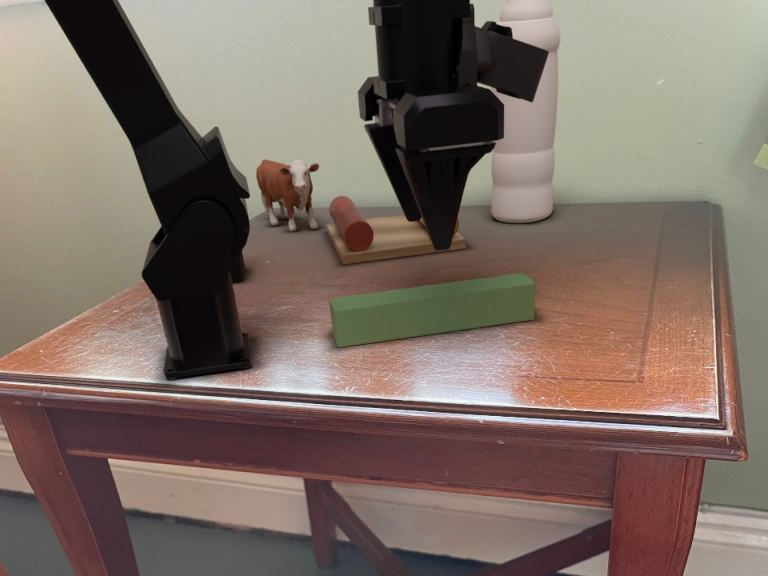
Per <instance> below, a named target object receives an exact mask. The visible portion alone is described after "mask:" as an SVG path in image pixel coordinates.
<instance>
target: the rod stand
mask: <svg viewBox="0 0 768 576" xmlns="http://www.w3.org/2000/svg"><path fill="white" fill-rule="evenodd" d="M329 215H330V217H331V219H332V221H333V223H327V224H326V233H327V236H328V238H329V239H330V242H331V243H332V245H333V247H334V249H335V250H336V253H337V255H338V257H339V258H340V259H339V260H340V261H341V262H342V264H343V265H350V264H358V263H367V262H374V261H382V260H388V259H389V260H390V259H397V258H405V257H411V256H419V255H427V254H434V253H442V252H443V253H444V252H450V251H458V250H465V249H466V238H465V237H464V236H462V235H461V234H460V233H459V229H460V219H459V217H458V218H457V222H456V226H455V231H454V235H453V239H452V243H451V247H450V248H449V249H448V250H441V251H436V250H435V249H434V247H433V244H432V242H431V240H430V237H429V235H428V232H427V230H426V227H425V224H424V222H423V219H422V217H421V220H419V221H414V222H409V221H408V220H407V219H406V217H405V214H399V215H391V216H390V215H389V216H381V217H373V218H366V217H364V215H363V214H362V212H361V211H360V209H359V207H358V206H357V205H356V204H355V202H354V201H353V200H352V199H351V198H350V197H348V196H346V195H339V196H337V197H335V198H334V199H333V200H332V201H331V202H330V205H329Z"/></svg>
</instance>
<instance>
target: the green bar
mask: <svg viewBox="0 0 768 576" xmlns="http://www.w3.org/2000/svg"><path fill="white" fill-rule="evenodd" d="M328 301H329V302H328V303H329V311H330V318H331V319H330V320H331V326H332V334H333V337H334V340H335V343H336V345H337V348H345V347H352V346H359V345H366V344H374V343H380V342H388V341H396V340H401V339H402V340H403V339H409V338H414V337H415V338H417V337H422V336H430V335H435V334H436V335H437V334H444V333H450V332H456V331H464V330H471V329H478V328H485V327H492V326H499V325H507V324H514V323H521V322H527V321H534V320H535V313H536V312H535V309H536V281H534V280H533V279H531V278H530V277H529V276H528V275H527V274H526V273H524V272H517V273H510V274H501V275H496V276H489V277H487V276H486V277H480V278H475V279H474V278H473V279H465V280H459V281H451V282H443V283H435V284H430V285H422V286H415V287H414V286H413V287H406V288H399V289H392V290H391V289H390V290H385V291H384V290H383V291H378V292H376V291H375V292H369V293H363V294H362V293H361V294H356V295H347V296H340V297H333V298H329V299H328Z"/></svg>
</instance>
